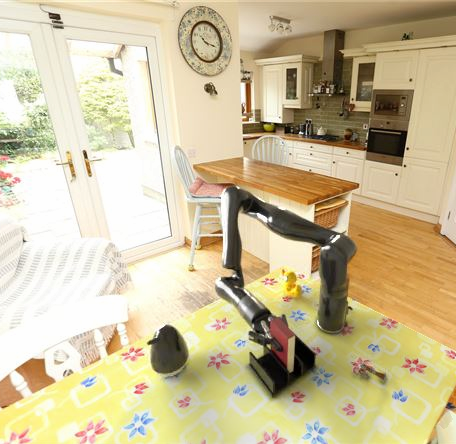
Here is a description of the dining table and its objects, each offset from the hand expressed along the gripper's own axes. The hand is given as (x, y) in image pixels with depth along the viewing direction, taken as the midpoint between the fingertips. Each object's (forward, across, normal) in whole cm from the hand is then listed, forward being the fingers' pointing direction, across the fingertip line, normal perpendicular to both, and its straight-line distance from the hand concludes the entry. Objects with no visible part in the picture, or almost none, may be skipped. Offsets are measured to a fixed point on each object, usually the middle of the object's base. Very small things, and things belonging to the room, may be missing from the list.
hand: (286, 346), depth 80 cm
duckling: (-27, +23, +10) cm, 37 cm away
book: (-2, 0, +8) cm, 9 cm away
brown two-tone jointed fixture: (+16, +18, +10) cm, 26 cm away
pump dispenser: (-21, -26, +10) cm, 35 cm away
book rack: (-2, 0, +10) cm, 10 cm away
